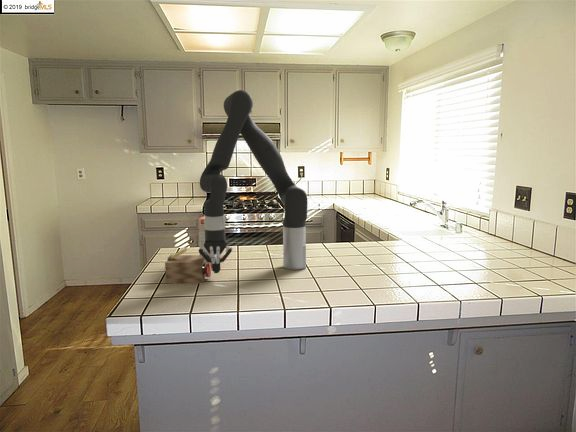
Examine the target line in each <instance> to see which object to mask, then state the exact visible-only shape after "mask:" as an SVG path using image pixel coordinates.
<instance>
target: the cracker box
mask: <svg viewBox="0 0 576 432" xmlns="http://www.w3.org/2000/svg"><path fill="white" fill-rule="evenodd" d="M204 220H205V215H204V216H200V217H199V218H198V221H197V222H198V243H199V245H198V247H199V249H200V248H202V247H203V246H204V243H205V228H204ZM199 249H198V250H199ZM224 251H225V250H224ZM224 251H223V252H222V253H221V258H222V257H223V256H224V255H225V254H224V253H225V252H224ZM206 253H207V254H208V255H209V256H210V258H211V255H210V253H209V252H208V251H207V250H206ZM199 255H201V254H200V253H199ZM215 257H216V256H215ZM208 263H210V264H211V269H212V263H211V262H207V261H206V264H208Z"/></svg>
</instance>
